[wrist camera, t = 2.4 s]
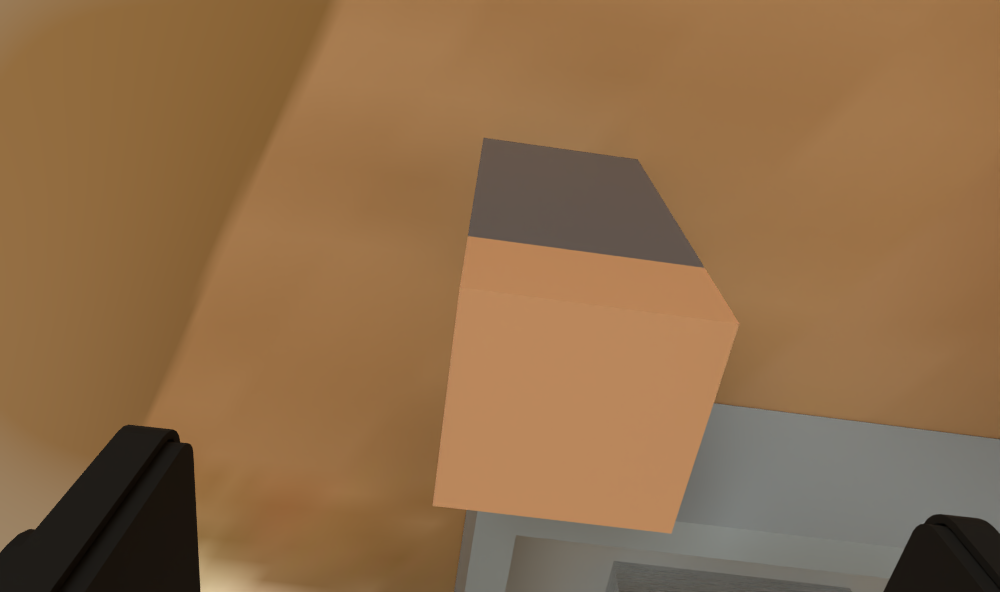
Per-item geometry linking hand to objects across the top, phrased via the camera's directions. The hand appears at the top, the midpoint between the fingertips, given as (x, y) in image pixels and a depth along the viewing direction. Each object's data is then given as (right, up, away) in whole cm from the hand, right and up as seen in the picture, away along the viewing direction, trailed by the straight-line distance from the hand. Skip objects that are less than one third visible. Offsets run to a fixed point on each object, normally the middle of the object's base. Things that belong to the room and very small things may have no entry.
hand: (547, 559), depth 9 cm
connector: (+1, +5, +10) cm, 11 cm away
